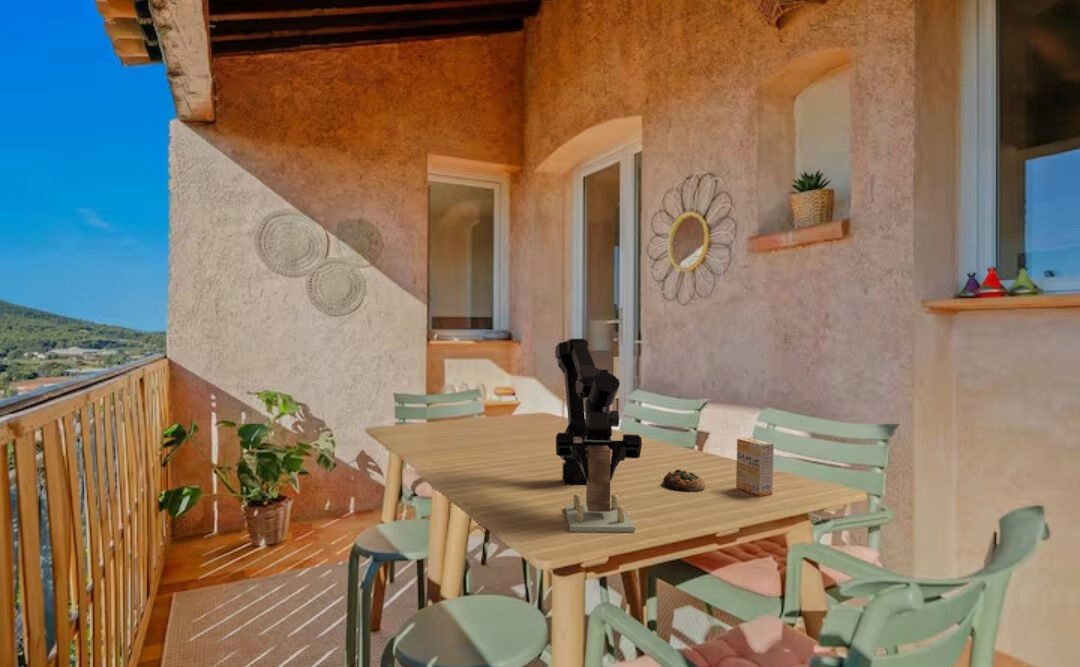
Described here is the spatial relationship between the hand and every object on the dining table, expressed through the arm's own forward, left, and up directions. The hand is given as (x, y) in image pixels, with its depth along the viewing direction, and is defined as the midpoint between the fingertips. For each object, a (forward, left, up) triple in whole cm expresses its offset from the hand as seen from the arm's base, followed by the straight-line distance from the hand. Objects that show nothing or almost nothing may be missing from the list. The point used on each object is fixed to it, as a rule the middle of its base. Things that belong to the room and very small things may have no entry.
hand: (598, 479), depth 119 cm
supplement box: (-43, -24, -9) cm, 50 cm away
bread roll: (-26, -29, -10) cm, 40 cm away
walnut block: (0, -1, -7) cm, 7 cm away
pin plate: (0, -1, -9) cm, 9 cm away
